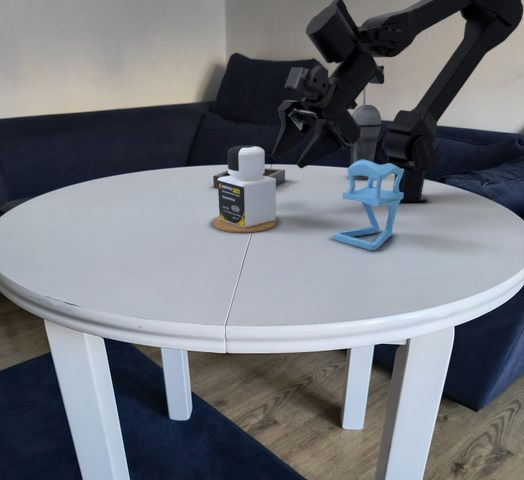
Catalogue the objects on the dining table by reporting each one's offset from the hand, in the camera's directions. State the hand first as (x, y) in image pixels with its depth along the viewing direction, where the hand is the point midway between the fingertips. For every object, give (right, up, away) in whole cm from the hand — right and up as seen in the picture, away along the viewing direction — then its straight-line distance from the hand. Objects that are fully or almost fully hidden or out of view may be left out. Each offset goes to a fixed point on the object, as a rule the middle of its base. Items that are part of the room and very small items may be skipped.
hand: (285, 162), depth 82 cm
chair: (+13, -15, -6) cm, 20 cm away
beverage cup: (+19, +9, +32) cm, 39 cm away
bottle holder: (-7, +6, +28) cm, 29 cm away
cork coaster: (-7, -10, +2) cm, 12 cm away
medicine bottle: (-6, -10, +2) cm, 12 cm away
